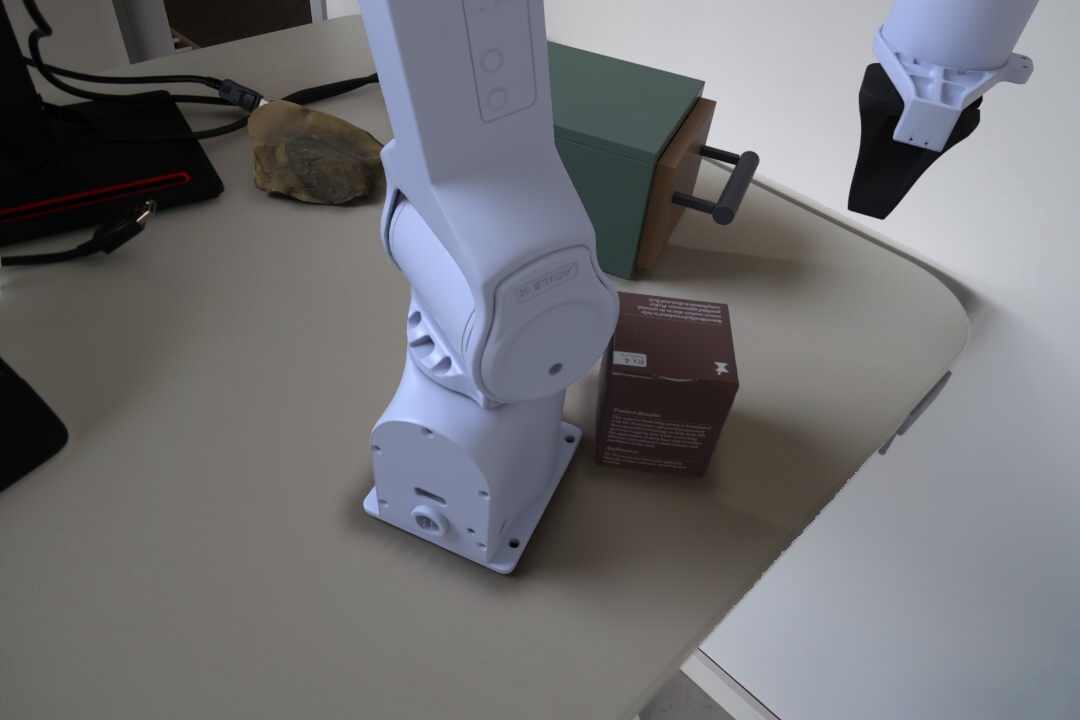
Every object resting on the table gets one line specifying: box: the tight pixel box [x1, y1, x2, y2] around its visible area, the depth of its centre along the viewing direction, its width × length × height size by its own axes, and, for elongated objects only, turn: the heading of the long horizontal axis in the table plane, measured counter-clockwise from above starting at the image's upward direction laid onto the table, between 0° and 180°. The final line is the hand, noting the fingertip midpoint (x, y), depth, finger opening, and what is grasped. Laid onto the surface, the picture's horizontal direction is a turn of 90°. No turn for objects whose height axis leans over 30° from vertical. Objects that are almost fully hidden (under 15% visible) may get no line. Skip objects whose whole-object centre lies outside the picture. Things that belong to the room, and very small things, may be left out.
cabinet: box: [547, 40, 706, 280], centre depth 52 cm, size 14×12×10 cm
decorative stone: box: [246, 98, 385, 205], centre depth 55 cm, size 10×9×4 cm
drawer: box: [635, 96, 761, 271], centre depth 51 cm, size 17×10×8 cm, turn 66°
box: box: [593, 290, 741, 478], centre depth 38 cm, size 6×6×7 cm
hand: (866, 209), depth 41 cm, fingers closed
